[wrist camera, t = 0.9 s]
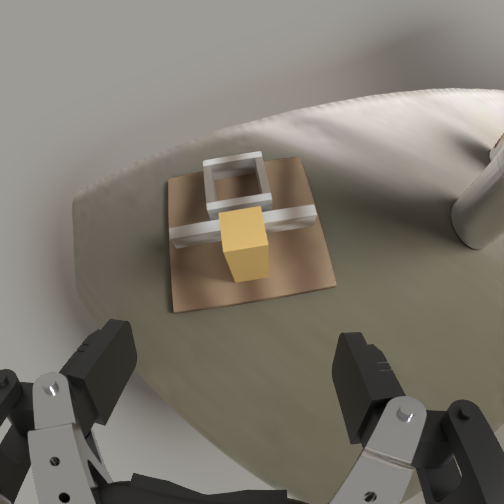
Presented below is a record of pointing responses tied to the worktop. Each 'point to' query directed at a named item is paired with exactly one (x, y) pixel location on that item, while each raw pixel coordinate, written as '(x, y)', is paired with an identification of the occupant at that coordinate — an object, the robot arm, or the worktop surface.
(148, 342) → the worktop surface
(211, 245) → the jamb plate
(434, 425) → the robot arm
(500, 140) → the milk bottle
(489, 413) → the worktop surface
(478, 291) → the worktop surface
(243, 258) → the block
